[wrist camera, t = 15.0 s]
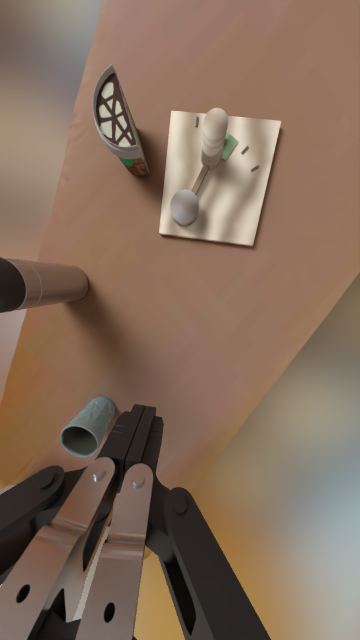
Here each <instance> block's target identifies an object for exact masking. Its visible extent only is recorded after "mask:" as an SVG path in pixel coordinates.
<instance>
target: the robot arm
mask: <svg viewBox="0 0 360 640" xmlns="http://www.w3.org/2000/svg"><path fill="white" fill-rule="evenodd" d="M87 291H88V280H87V277H86V275H85V274H84V273H83V272H82V271H81V270H80V269H79V268H77V267H75V266H69V265H61V264H54V263H46V262H38V261H29V260H22V259H12V258H5V257H0V313H2V312H8V311H14V310H21V309H27V308H32V307H39V306H45V305H51V304H57V303H63V302H70V301H76V300H80V299H82V298H83V297H84V296H85V295H86V293H87ZM163 426H164V424H163V420H162V417H157V416H156V408H155V407H149V406H144V405H137V404H135V405H134V406H133V408H132V411H131V412H127V411H125V412H124V413H123V414H121V415H120V416H119V417H118V419H117V421H116V423H115V426H114V427H113V429H112V431H111V432H110V434H109V436H108V438H107V440H106V442H105V443H104V445H103V447H102V449H101V451H100V453H99V455H98V456H97V458H96V459H95V460H94V461H93V462H91V463H90V464H89V465H88V466H87V467H85V468H83V469H80V470H75V471H70V472H64V470H63V468H62V467H60V466H50V467H47V468H45V469H43V470H41V471H39V472H38V473H36V474H34V475H33V476H31V477H29V478H28V479H26V480H24V481H23V482H21V483H19V484H18V485H16V486H14V487H13V488H11V489H9V490H8V491H6V492H4V493H2V494H1V495H0V585H1V584H2V583H3V582H4V583H3V584H2V586H1V587H0V640H137V639H136V638H135V637H134V628H135V620H136V612H137V605H138V597H139V589H140V581H141V573H142V566H143V558H144V550H145V545H146V546H147V547H148V548H149V549H151V550H152V551H153V552H154V553H155V554H156V555H158V556H159V560H160V563H161V566H162V569H163V572H164V575H165V579H166V581H167V585H168V588H169V591H170V594H171V597H172V600H173V603H174V606H175V609H176V612H177V616H178V619H179V622H180V624H181V628H182V631H183V634H184V637H185V640H271V639H270V637H269V635H268V634H267V631H266V630H265V628H264V626H263V624H262V622H261V621H260V619H259V617H258V615H257V613H256V612H255V610H254V608H253V606H252V604H251V602H250V601H249V599H248V597H247V595H246V593H245V592H244V590H243V588H242V586H241V584H240V582H239V581H238V579H237V577H236V575H235V573H234V572H233V570H232V568H231V566H230V564H229V563H228V561H227V559H226V557H225V555H224V554H223V552H222V550H221V548H220V547H219V545H218V543H217V541H216V539H215V537H214V536H213V534H212V532H211V530H210V528H209V526H208V524H207V523H206V521H205V519H204V517H203V515H202V514H201V512H200V510H199V508H198V506H197V505H196V503H195V501H194V499H193V497H192V496H191V494H190V493H189V492H188V491H187V490H186V489H184V488H181V487H176V488H173V489H172V490H169V489H168V488H166V487H165V486H163V485H162V484H161V483H160V482H159V481H158V479H157V477H156V468H157V463H158V458H159V452H160V447H161V442H162V434H163ZM117 493H120V495H119V498H118V502H117V505H116V509H115V513H114V516H113V520H112V523H111V527H110V531H109V534H108V537H107V539H106V540H105V542H104V544H103V547H102V550H101V553H100V556H99V559H98V563H97V566H96V570H95V573H94V577H93V581H92V584H91V587H90V590H89V594H88V597H87V601H86V604H85V608H84V611H83V615H82V618H81V619H79V620H75V621H73V618H74V615H75V613H76V610H77V608H78V605H79V602H80V599H81V595H82V591H83V588H84V584H85V580H86V577H87V574H88V571H89V569H90V567H91V564H92V561H93V559H94V557H95V554H96V552H97V549H98V547H99V544H100V542H101V539H102V537H103V534H104V532H105V529H106V527H107V525H108V522H109V520H110V517H111V515H112V512H113V502H114V499H115V497H116V494H117Z"/></svg>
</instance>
